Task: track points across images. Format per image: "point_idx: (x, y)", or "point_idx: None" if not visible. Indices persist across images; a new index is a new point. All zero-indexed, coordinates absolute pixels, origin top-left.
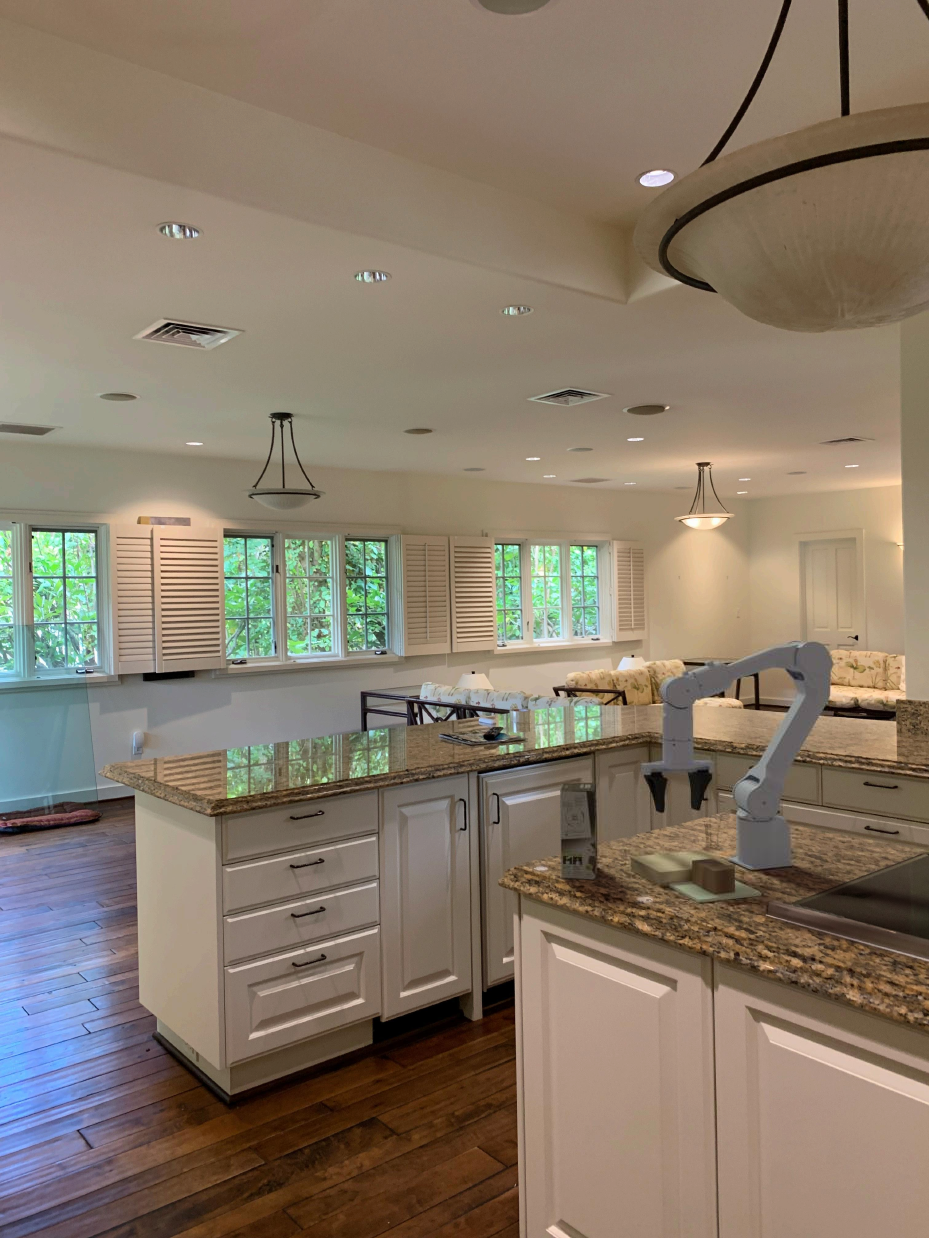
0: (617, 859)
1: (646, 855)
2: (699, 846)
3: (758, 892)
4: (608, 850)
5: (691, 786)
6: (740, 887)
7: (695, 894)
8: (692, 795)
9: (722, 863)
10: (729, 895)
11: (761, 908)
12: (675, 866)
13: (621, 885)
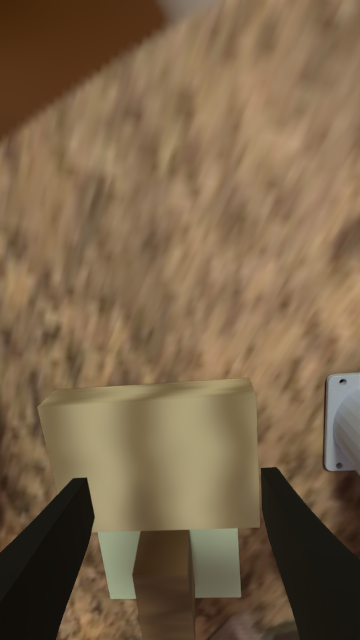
0: (47, 287)
1: (83, 404)
2: (344, 207)
3: (236, 595)
4: (47, 181)
5: (307, 578)
6: (220, 566)
7: (117, 576)
8: (283, 532)
9: (190, 609)
10: None
11: (201, 635)
12: (117, 505)
13: (4, 479)
